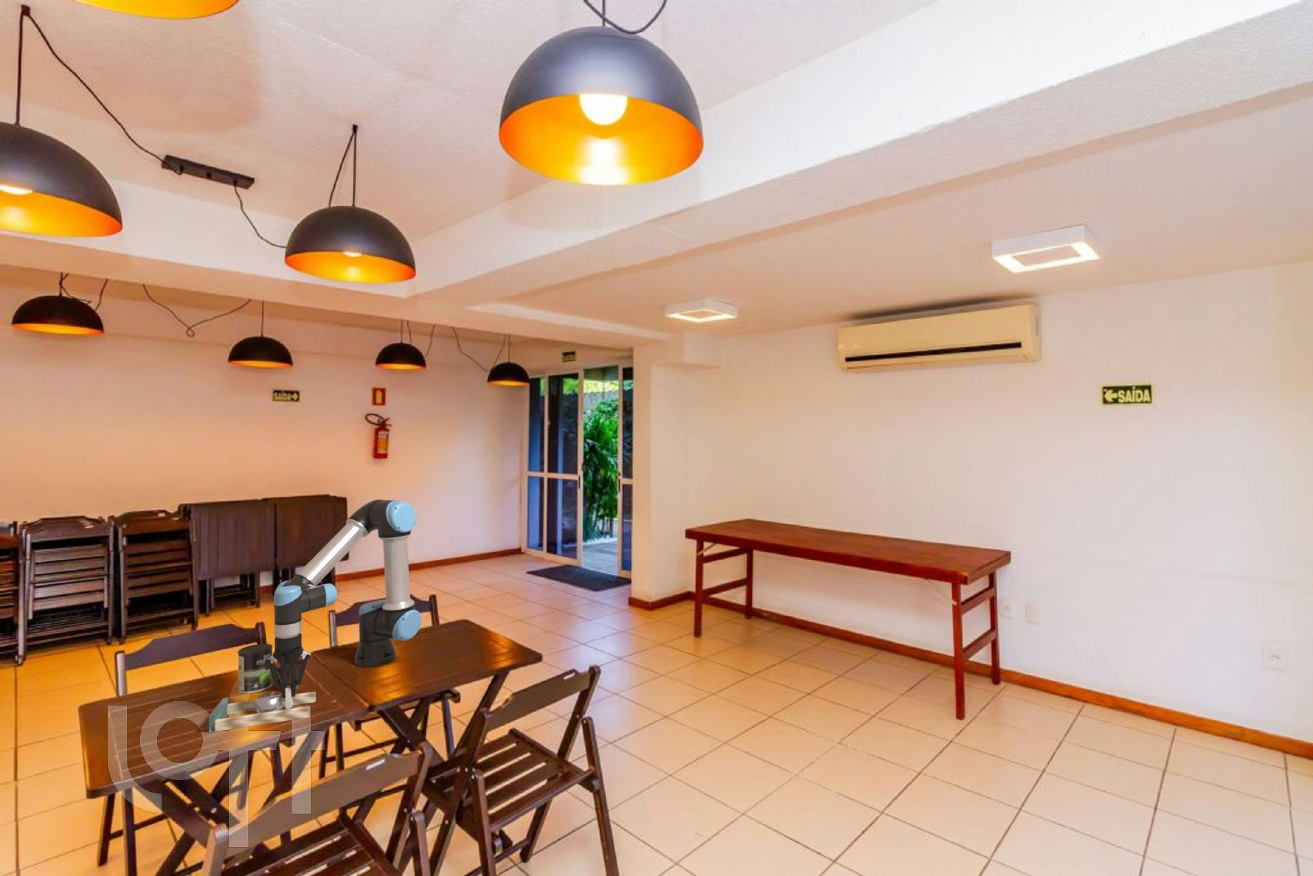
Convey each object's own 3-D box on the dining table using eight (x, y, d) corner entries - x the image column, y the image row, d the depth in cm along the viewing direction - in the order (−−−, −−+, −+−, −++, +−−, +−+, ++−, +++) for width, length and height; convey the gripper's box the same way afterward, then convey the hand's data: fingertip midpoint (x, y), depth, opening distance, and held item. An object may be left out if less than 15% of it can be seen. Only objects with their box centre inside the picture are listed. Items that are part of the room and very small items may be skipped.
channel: (315, 700, 204) (315, 685, 204) (308, 717, 191) (308, 701, 191) (223, 713, 194) (222, 698, 194) (209, 732, 182) (209, 716, 182)
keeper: (284, 708, 198) (284, 690, 198) (279, 718, 191) (278, 699, 191) (259, 711, 195) (259, 693, 195) (253, 721, 189) (253, 702, 189)
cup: (265, 691, 209) (269, 662, 210) (289, 685, 217) (293, 656, 218) (283, 696, 206) (288, 666, 207) (306, 689, 214) (310, 660, 215)
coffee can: (279, 682, 218) (279, 644, 218) (255, 695, 208) (255, 654, 208) (256, 680, 220) (255, 642, 220) (230, 692, 210) (230, 652, 210)
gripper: (312, 628, 201) (313, 698, 201) (267, 633, 196) (268, 705, 196) (308, 635, 194) (309, 708, 194) (261, 641, 189) (262, 715, 189)
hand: (289, 706), depth 195 cm, fingers closed
